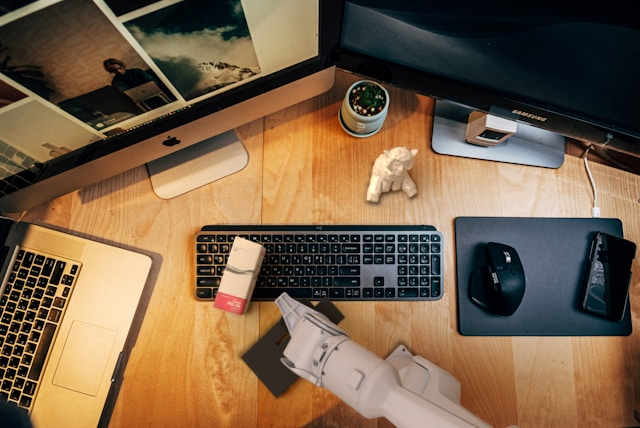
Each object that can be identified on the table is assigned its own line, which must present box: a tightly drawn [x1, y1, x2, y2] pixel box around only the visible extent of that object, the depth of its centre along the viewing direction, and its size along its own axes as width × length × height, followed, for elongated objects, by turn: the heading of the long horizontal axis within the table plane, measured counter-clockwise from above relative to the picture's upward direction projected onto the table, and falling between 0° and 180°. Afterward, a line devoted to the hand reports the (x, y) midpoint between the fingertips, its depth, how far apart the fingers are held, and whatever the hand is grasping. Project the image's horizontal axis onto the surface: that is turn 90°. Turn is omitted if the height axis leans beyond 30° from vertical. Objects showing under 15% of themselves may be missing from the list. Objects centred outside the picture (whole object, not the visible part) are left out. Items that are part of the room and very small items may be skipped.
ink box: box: [212, 236, 267, 316], centre depth 74 cm, size 9×5×12 cm
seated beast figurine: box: [365, 146, 419, 203], centre depth 76 cm, size 10×9×12 cm
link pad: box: [279, 295, 346, 352], centre depth 72 cm, size 5×11×3 cm, turn 133°
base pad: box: [240, 320, 301, 400], centre depth 75 cm, size 9×9×3 cm
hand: (312, 328), depth 72 cm, fingers closed on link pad, 4 cm apart
